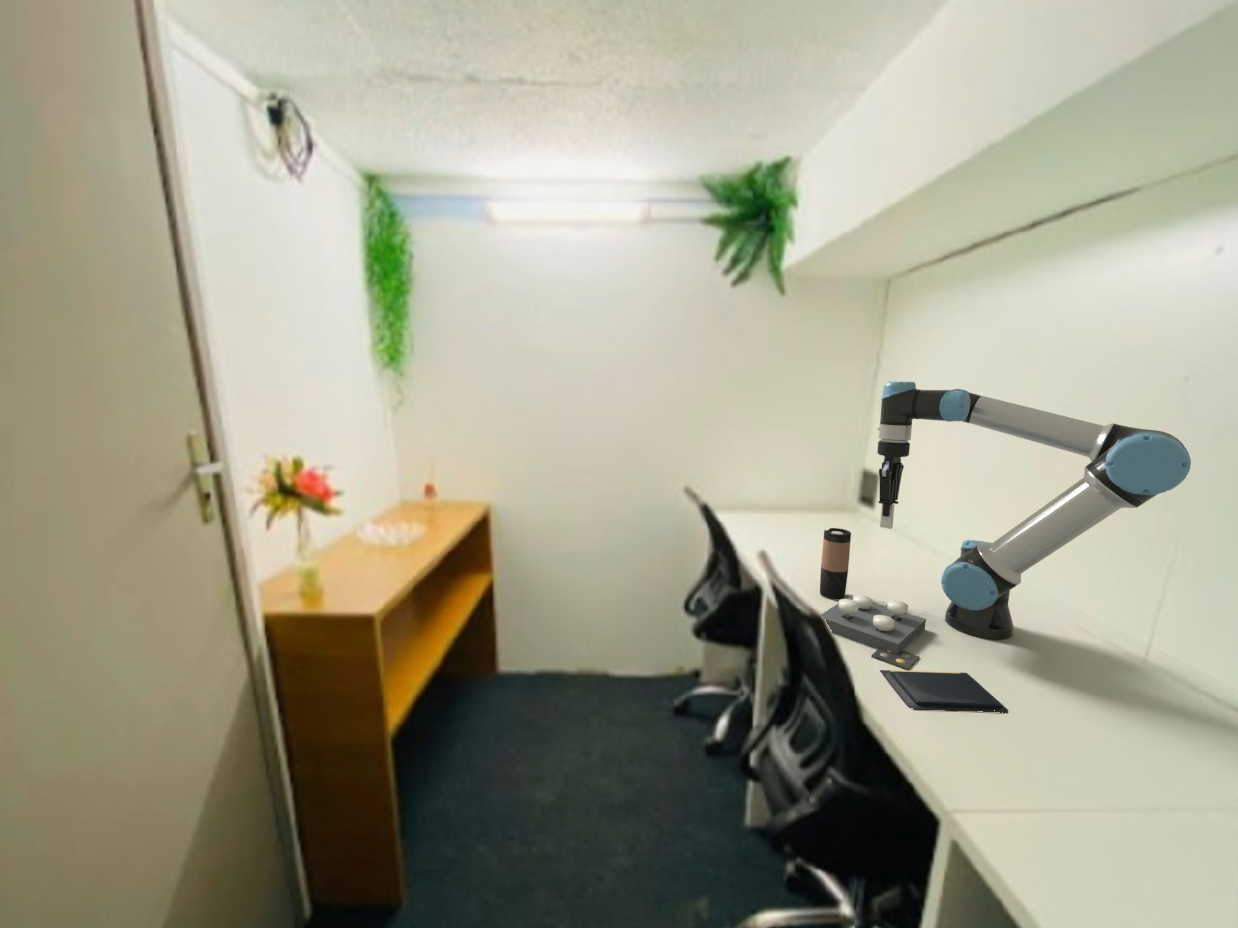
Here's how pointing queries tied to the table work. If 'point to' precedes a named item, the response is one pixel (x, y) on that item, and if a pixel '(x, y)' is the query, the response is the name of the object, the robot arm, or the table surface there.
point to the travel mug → (835, 563)
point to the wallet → (941, 691)
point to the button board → (867, 634)
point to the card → (896, 658)
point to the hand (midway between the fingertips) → (886, 527)
